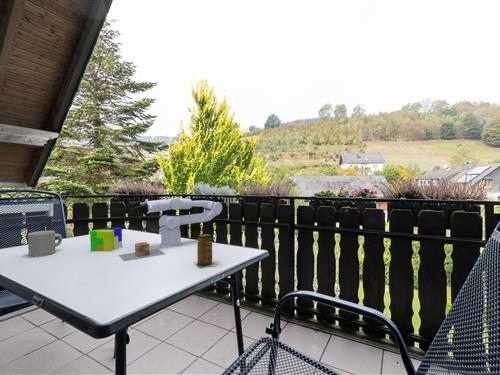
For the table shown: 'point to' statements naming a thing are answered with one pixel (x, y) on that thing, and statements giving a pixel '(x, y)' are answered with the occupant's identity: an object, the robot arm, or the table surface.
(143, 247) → the walnut block
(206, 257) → the condiment
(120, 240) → the puzzle toy
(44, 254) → the coffee mug
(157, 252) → the gray tile
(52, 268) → the table surface
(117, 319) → the table surface
